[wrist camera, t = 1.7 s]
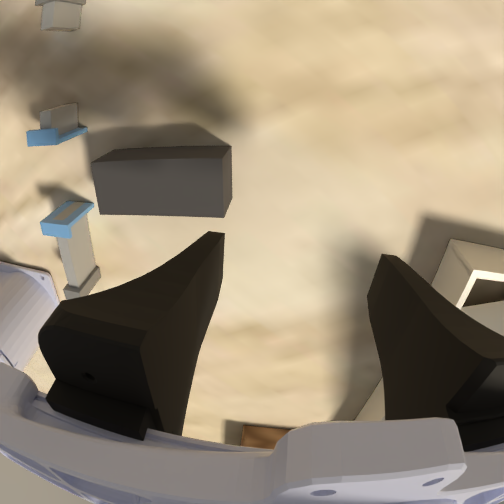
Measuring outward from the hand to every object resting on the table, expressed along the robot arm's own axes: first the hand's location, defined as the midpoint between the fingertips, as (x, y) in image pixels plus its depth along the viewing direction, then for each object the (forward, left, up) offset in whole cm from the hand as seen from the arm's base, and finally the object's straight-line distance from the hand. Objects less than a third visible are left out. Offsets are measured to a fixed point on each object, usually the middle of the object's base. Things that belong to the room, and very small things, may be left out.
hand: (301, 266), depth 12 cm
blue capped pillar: (-15, +2, -9) cm, 18 cm away
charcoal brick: (-8, 0, -9) cm, 12 cm away
